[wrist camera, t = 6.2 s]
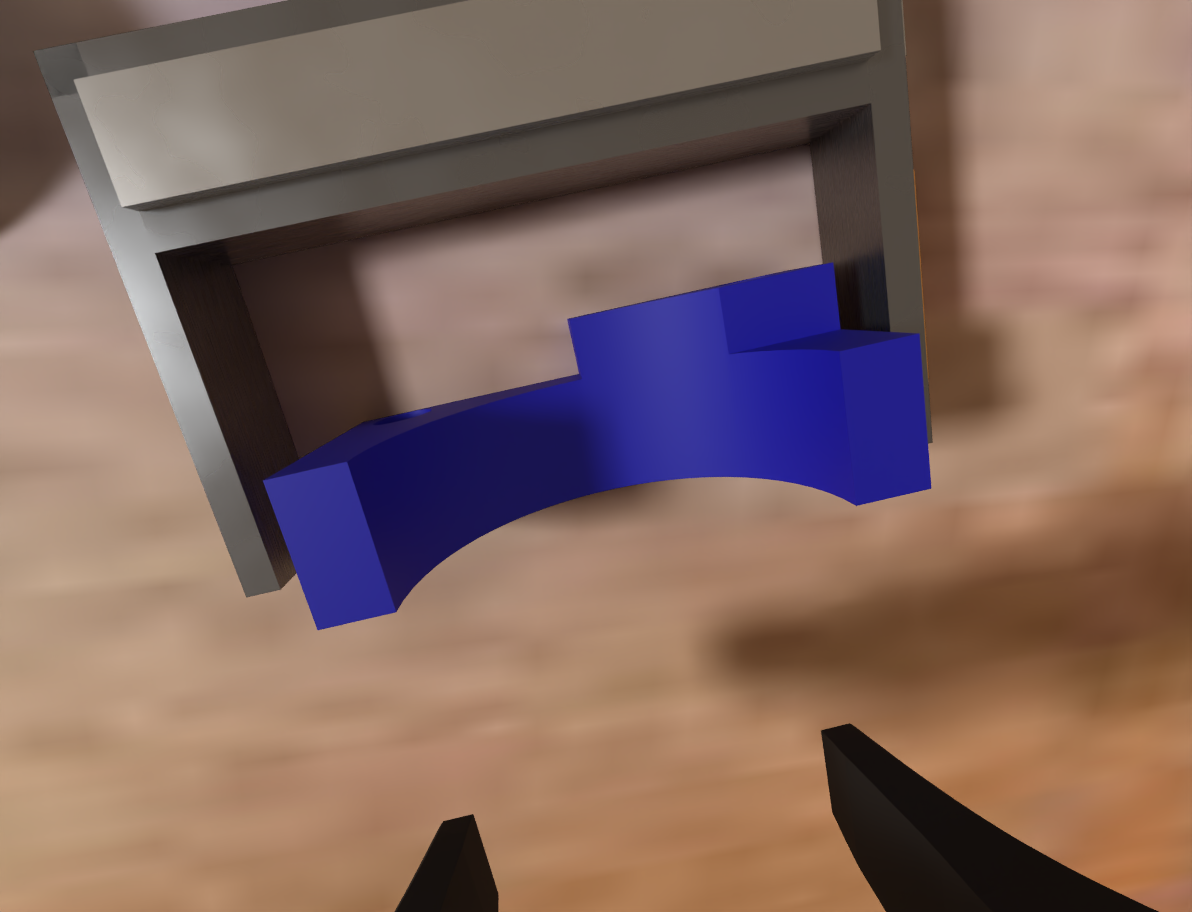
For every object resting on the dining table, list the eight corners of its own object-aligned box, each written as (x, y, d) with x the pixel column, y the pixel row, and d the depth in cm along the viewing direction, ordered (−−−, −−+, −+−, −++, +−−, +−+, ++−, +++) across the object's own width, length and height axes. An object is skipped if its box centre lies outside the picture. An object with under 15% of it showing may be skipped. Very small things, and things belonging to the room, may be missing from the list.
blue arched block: (782, 271, 16) (913, 247, 10) (802, 429, 17) (931, 488, 11) (347, 366, 16) (231, 397, 10) (396, 522, 17) (317, 630, 11)
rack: (880, 417, 17) (962, 443, 14) (298, 548, 17) (235, 607, 13) (839, -36, 14) (928, -144, 11) (140, 105, 14) (9, 38, 11)
